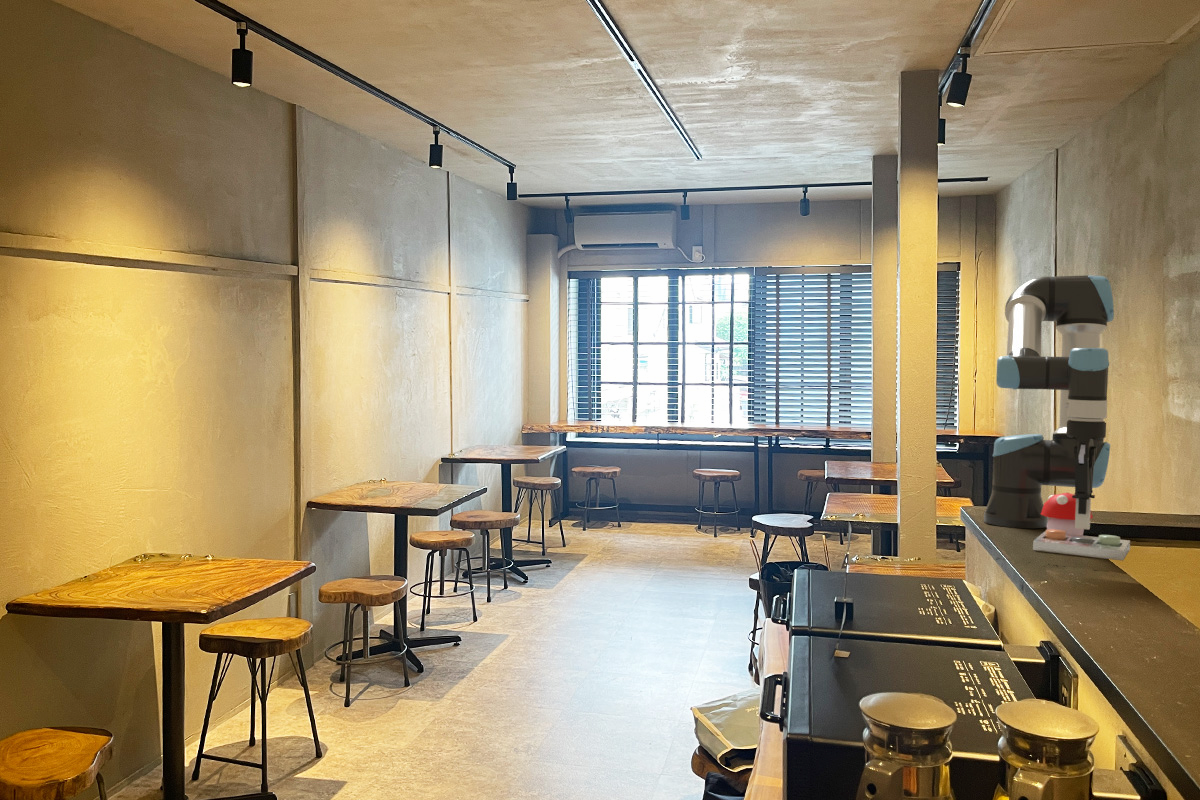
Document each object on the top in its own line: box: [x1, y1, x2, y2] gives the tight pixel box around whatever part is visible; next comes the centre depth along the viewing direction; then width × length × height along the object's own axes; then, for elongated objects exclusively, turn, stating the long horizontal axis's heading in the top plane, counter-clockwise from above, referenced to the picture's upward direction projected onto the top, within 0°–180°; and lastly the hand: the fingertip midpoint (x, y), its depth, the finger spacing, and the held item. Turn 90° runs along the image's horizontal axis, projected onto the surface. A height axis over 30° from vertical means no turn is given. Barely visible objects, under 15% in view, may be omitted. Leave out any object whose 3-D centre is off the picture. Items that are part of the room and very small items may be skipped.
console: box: [1032, 531, 1131, 562], centre depth 202 cm, size 14×17×4 cm
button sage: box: [1098, 534, 1121, 547], centre depth 199 cm, size 4×4×2 cm
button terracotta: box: [1045, 528, 1066, 541], centre depth 204 cm, size 4×4×2 cm
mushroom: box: [1041, 492, 1094, 536], centre depth 216 cm, size 11×11×12 cm
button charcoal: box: [1072, 536, 1093, 544], centre depth 202 cm, size 4×4×2 cm
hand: (1082, 528), depth 202 cm, fingers closed
